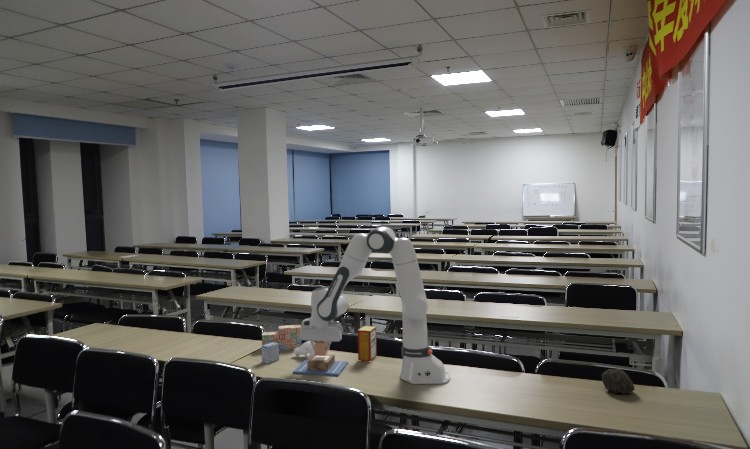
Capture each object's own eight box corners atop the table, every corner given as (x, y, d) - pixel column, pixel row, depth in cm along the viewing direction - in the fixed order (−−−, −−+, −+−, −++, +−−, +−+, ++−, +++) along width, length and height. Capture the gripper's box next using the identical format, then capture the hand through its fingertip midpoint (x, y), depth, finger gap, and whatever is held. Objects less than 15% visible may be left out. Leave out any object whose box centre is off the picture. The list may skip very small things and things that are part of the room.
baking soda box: (364, 355, 252) (364, 325, 252) (376, 356, 250) (376, 325, 250) (358, 360, 243) (357, 329, 243) (370, 362, 241) (370, 330, 241)
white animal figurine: (311, 342, 246) (290, 343, 250) (313, 359, 246) (292, 359, 250) (316, 339, 252) (295, 340, 256) (318, 355, 252) (297, 356, 256)
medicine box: (273, 358, 250) (273, 341, 249) (279, 359, 247) (279, 343, 247) (261, 362, 243) (261, 345, 243) (267, 364, 240) (267, 346, 240)
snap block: (327, 352, 234) (327, 339, 234) (324, 355, 230) (324, 342, 229) (317, 352, 235) (317, 339, 235) (314, 355, 230) (314, 341, 230)
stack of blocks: (262, 352, 261) (261, 329, 260) (262, 349, 267) (261, 327, 266) (302, 349, 266) (301, 326, 266) (301, 346, 272) (300, 324, 272)
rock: (640, 393, 194) (635, 368, 195) (615, 399, 192) (610, 374, 193) (624, 387, 204) (619, 363, 204) (600, 392, 202) (595, 368, 203)
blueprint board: (348, 363, 239) (347, 353, 239) (338, 376, 222) (338, 364, 222) (305, 361, 244) (305, 351, 243) (293, 373, 226) (292, 362, 226)
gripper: (343, 320, 233) (343, 348, 233) (302, 319, 237) (303, 346, 237) (339, 323, 227) (340, 352, 227) (298, 322, 231) (298, 350, 231)
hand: (321, 349), depth 232 cm, fingers closed on snap block, 5 cm apart
